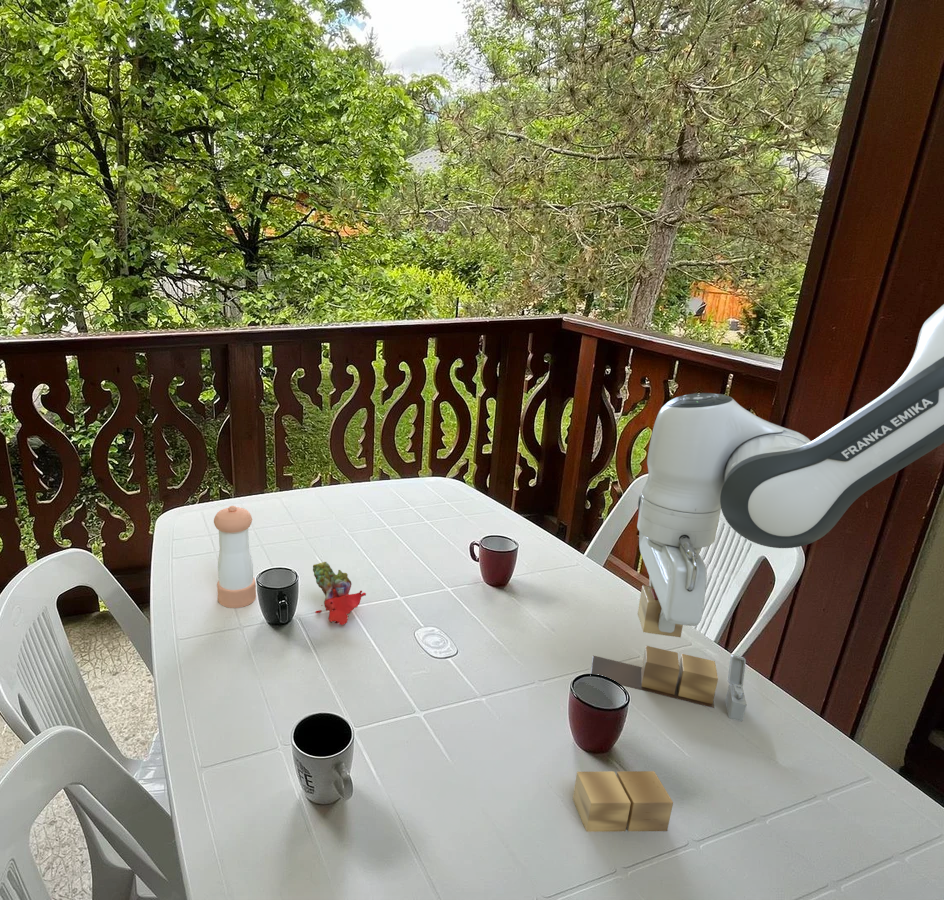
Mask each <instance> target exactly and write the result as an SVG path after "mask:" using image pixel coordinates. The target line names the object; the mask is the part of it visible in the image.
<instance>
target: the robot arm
mask: <svg viewBox="0 0 944 900" xmlns="http://www.w3.org/2000/svg"><path fill="white" fill-rule="evenodd" d="M652 428H653V429H652V432H651V436H650V441H649V446H648V452H647V457H646V458H647V459H646V465H647V472H648V473H647V474H648V475H647V480H646V482H645V484H644V486H643V488H642V492H641V493H639V495H638V499H637V509H638V515H637V516H638V517H637V522H636V523H637V524H636V528H637V530H638V531H639V533H638V534H639V535H638V546H639V552H640V555H641V557H642V561H643V563H644V566H645V568H646V571H647V573H648V577H649V578H648V580H649V586H651V587H654V590H655V592H656V595H657V598H658V600H659V603H660V606H661V608H662V609H661V613H658V620H657V624H658V628H659V630H660V631H661V632H668V633H672V632H673V631H674V629H675V624H679V625H683V626H687V627H689V626H690V627H697V626H698V625H699V624H700V623H701V621H702V618H703V613H704V607H705V600H706V591H707V584H708V583H707V580H708V574H707V566H706V564H705V562H704V560H703V559H702V557H701V554H700V553H701V551H702V548H707V547H709V546H711V545H713V544H714V543H715V541H716V537H717V531H718V527H719V526H718V525H719V521H720V516H721V513H722V516H723V517H724V519H725V521H726V522H727V524H728V525H729V526H730V527H731V529H732V530H734V531H735V532H736V533H737V534H738V535H739V536H741V537H743V538H744V539H746V540H748V541H750V542H752V543H754V544H757V545H759V546H764V547H767V548H774V549H794V548H800V547H804V546H807V545H809V544H812V543H814V542H816V541H818V540H820V539H821V538H823V537H825V536H826V535H827V534H828V533H829V532H830V531H831V530H832V529H833V528H834V527H835V526H836V525H837V524H838V522H839V521H840V520H841V518H842V517H843V516H844V514H845V513H846V512H847V511H848V509H849V508H850V507H851V505H853V503H855V501H856V500H858V499H859V498H860V497H861V496H863V494H865V493H866V492H868V491H869V490H870V489H873V488H874V487H875V486H877V485H878V484H880V483H881V482H883V481H885V480H886V479H888V478H889V477H891V476H893V475H894V474H896V473H898V472H900V471H901V470H902V469H904V468H906V467H907V466H909V465H910V464H912V463H914V462H916V461H917V460H918V459H921V457H924V456H925V455H926V454H928V453H930V452H931V451H933V450H935V449H936V448H938V447H940V446H941V445H943V444H944V303H943V304H942V305H940V307H938V309H936V311H934V312H933V313H932V314H931V315H930V316H929V317H928V318H927V319H926V320H925V321H924V322H923V324H922V326H921V328H920V330H919V333H918V337H917V342H916V346H915V350H914V352H913V355H912V358H911V360H910V362H909V364H908V366H907V367H906V369H905V370H904V372H903V373H902V374H901V376H900V377H899V378H898V379H897V380H896V381H895V382H894V384H892V385H891V386H890V387H889V388H888V389H887V390H886V391H884V392H883V393H882V394H880V395H879V396H878V397H876V398H875V399H873V400H871V401H870V402H869V403H867V404H866V405H864V406H863V407H861V408H859V409H858V410H856V411H855V412H853V413H852V414H850V415H849V416H848V417H846V418H845V419H843V420H841V421H840V422H838V423H837V424H836V425H834V426H832V427H831V428H829V429H828V430H826V431H825V432H824V433H822V434H820V435H819V436H817V437H815V439H813V440H811V439H810V438H809V437H807V436H806V435H804V434H802V433H800V432H799V431H797V430H793V429H791V428H786V427H784V426H781V425H779V424H776V423H773V422H771V421H768V420H766V419H763V418H762V417H759V416H757V415H755V414H754V413H752V412H750V411H749V410H747V409H746V408H744V407H743V406H742V405H740V404H739V403H738V402H737V401H736V400H735V399H734V398H733V397H732V396H729V395H726V394H722V393H713V392H698V393H697V392H696V393H689V394H684V395H679V396H676V397H674V398H672V399H670V400H669V401H667V402H666V403H665V404H663V406H662V407H661V408H660V409H659V411H658V413H657V416H656V419H655V421H654V423H653V427H652Z"/></svg>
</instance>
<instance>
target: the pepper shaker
mask: <svg viewBox="0 0 944 900" xmlns="http://www.w3.org/2000/svg"><path fill="white" fill-rule="evenodd" d="M252 522H253V517H252V514H251V513H250V511H249V510H247V509H246V508H244V507H239V506H236V505H230V506H228V507H225V508H223V509H220V510H218V512H217V513H216V514H215V516H214V518H213V525H214V527H215V528H216V529H217V530H218V544H219V551H218V560H217V575H218V580H217V583H216V587H217V588H216V591H217V601H218V603H219V604H220V605H221V606H223V607H224V608H230V609H239V608H244V607H247V606H249V605H251V604H253V603H254V602H255V601H256V598H257V585H256V579H255V577H254V562H253V557H252V553H251V548H250V534H249V533H250V532H249V528H250V527H251V525H252Z"/></svg>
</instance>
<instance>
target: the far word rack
mask: <svg viewBox="0 0 944 900" xmlns="http://www.w3.org/2000/svg"><path fill="white" fill-rule="evenodd" d="M642 659H643V660H642V664H641V666H639V665H634V664H630V663H626V662H622V661H619V660H614V659H609V658H605V657H601V656H598V655H597V656H596V655H592V660H591V668H590V675H591V674H599V675H603V676H606V677H608V678H611V679H612V680H615V681H616V682H618V683H619V684H620V686H624V687H628V688H632V689H635V690H639V691H643V692H648V693H650V694H651V693H652V694H655V695H660V696H664V697H667V698H671V699H676V700H680V701H683V702H687V703H692V704H696V705H699V706H703V707H707V708H710V709H716V708H715V702H714V701H715V700H714V699H715V695H716V690H717V685H718V681H719V677H718V669H717V666H716V660H712V659H707V658H704V657H698V656H693V655H690V654H685V653H681V654H680V659H679V653H678V652H676V651H672V650H669V649H663V648H659V647H654V646H650V645H645V648H644V653H643V657H642ZM619 684H618V685H619Z"/></svg>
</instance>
